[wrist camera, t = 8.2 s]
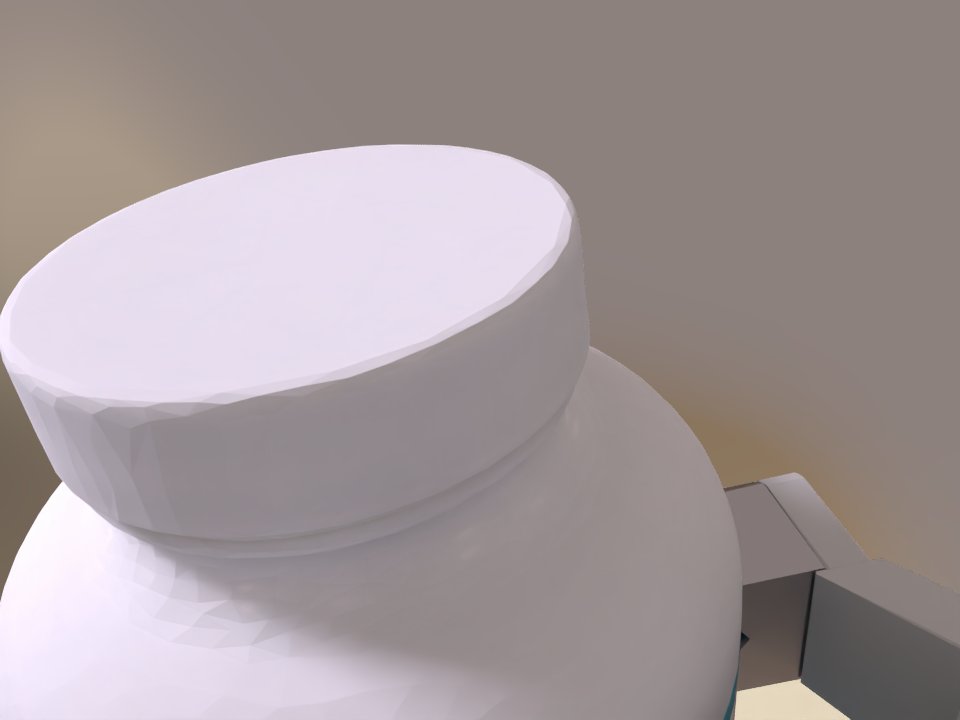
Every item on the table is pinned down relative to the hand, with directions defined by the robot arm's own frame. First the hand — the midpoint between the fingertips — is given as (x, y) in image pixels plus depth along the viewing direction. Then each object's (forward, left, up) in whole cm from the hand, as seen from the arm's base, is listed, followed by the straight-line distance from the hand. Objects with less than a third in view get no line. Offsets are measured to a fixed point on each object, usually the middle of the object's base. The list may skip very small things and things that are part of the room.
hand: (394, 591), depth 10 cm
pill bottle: (0, -1, -8) cm, 9 cm away
